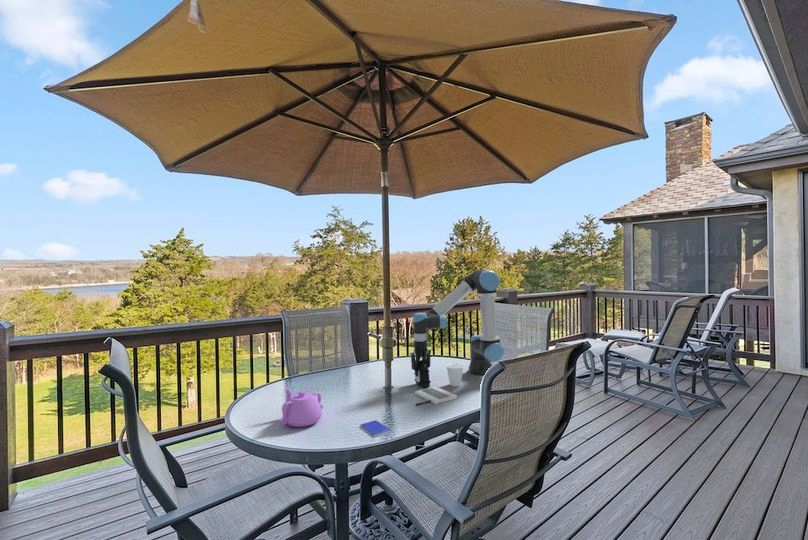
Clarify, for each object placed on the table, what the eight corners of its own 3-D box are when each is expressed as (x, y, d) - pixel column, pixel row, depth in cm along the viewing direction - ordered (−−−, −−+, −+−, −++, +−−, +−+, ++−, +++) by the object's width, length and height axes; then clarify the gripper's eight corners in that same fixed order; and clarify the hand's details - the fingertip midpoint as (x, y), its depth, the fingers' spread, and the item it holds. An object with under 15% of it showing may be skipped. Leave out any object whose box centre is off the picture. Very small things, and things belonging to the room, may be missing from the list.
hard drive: (391, 429, 166) (376, 419, 176) (374, 434, 161) (360, 424, 171) (391, 433, 166) (376, 423, 176) (374, 438, 161) (360, 427, 172)
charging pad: (435, 389, 219) (435, 386, 219) (457, 398, 203) (456, 395, 203) (400, 397, 206) (400, 394, 206) (420, 408, 191) (420, 405, 191)
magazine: (428, 386, 216) (421, 359, 221) (417, 391, 227) (410, 365, 232) (433, 385, 218) (426, 358, 223) (422, 389, 228) (416, 364, 234)
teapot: (305, 407, 195) (304, 380, 194) (334, 418, 181) (333, 388, 181) (264, 422, 178) (263, 392, 177) (293, 435, 164) (292, 402, 164)
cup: (463, 382, 229) (463, 363, 229) (464, 388, 219) (464, 368, 219) (446, 382, 230) (446, 363, 230) (446, 387, 220) (446, 368, 220)
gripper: (428, 337, 232) (429, 376, 233) (404, 341, 223) (405, 382, 224) (436, 339, 226) (437, 379, 227) (411, 343, 217) (412, 385, 218)
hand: (421, 380), depth 225 cm, fingers closed on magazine, 4 cm apart
